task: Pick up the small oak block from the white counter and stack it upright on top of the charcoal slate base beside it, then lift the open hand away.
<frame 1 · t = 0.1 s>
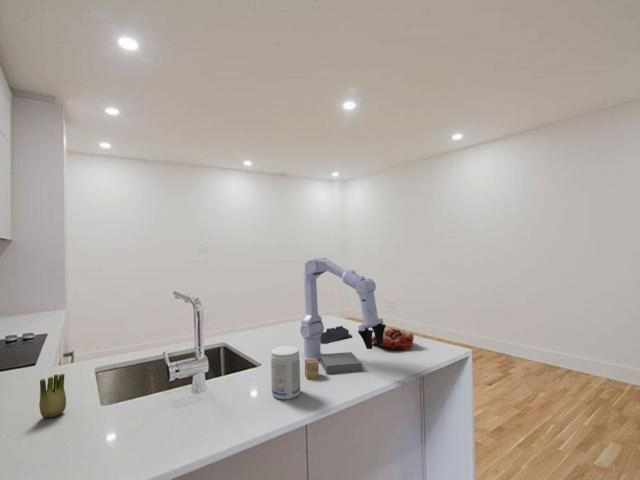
hand: (374, 346, 130), 11 cm above the counter, tool pointing down, fingers open, 7 cm apart
dark slate chunk: (330, 338, 181), on the counter
meat: (390, 346, 165), on the counter
slate base: (339, 365, 139), on the counter
fennel bulb: (53, 416, 101), on the counter
supplement tub: (285, 394, 113), on the counter
oak block: (311, 376, 128), on the counter
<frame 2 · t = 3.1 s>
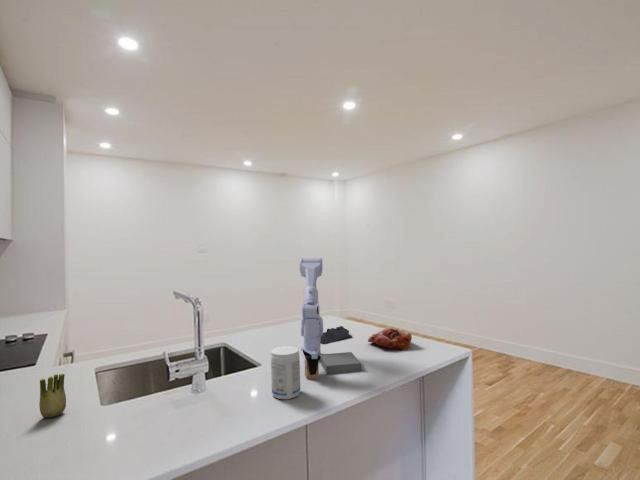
hand: (311, 371, 128), 2 cm above the counter, tool pointing down, fingers closed on oak block, 4 cm apart
oak block: (311, 376, 128), on the counter, touching gripper
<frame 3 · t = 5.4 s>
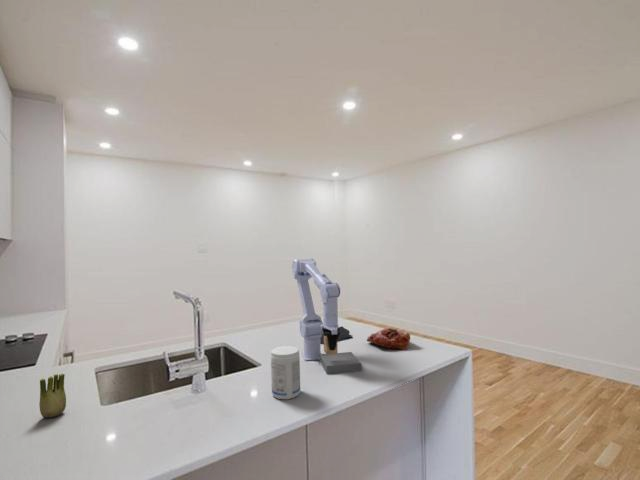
hand: (330, 347, 135), 8 cm above the counter, tool pointing down, fingers closed on oak block, 4 cm apart
oak block: (330, 352, 135), point 7 cm above the counter, touching gripper
when the fingers open (6 cm above the counter, at t = 7.6 s): oak block drops 1 cm, resting on slate base.
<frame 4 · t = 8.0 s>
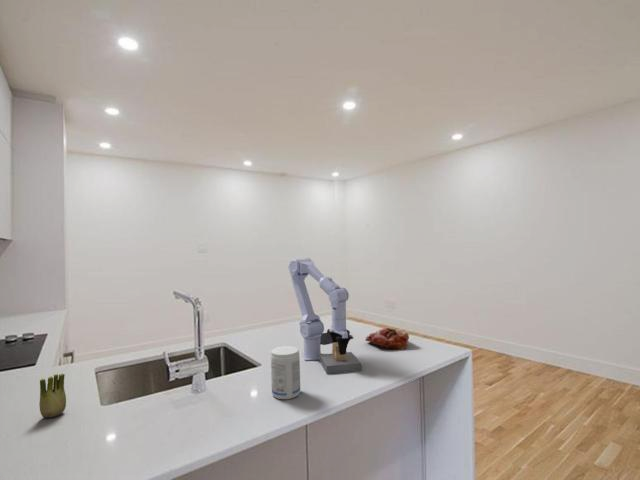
hand: (339, 351, 139), 6 cm above the counter, tool pointing down, fingers open, 7 cm apart
oak block: (339, 358, 139), point 3 cm above the counter, touching slate base
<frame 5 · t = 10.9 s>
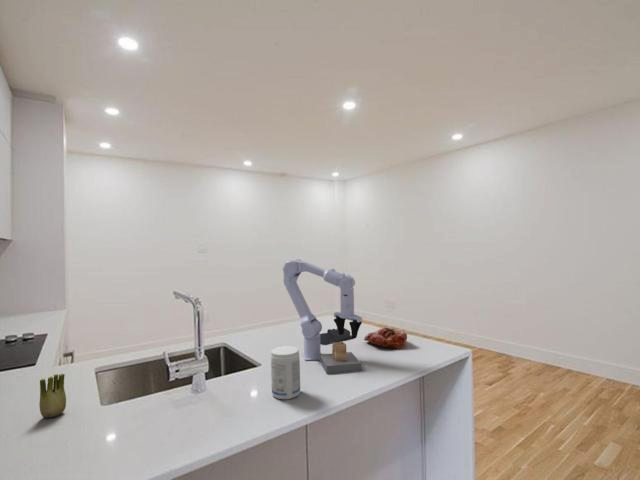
hand: (347, 336, 145), 10 cm above the counter, tool pointing down, fingers open, 7 cm apart
at the end: oak block inside the target area on the slate base (0.1 cm from its centre), point 3.0 cm above the slate base's base; oak block tilted 0°; the gripper is holding nothing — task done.
